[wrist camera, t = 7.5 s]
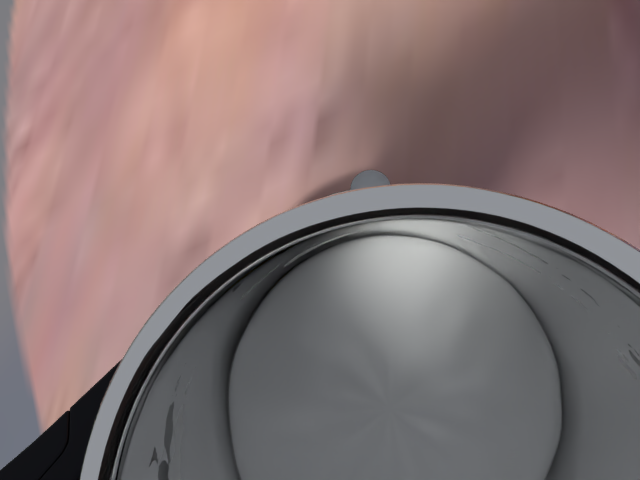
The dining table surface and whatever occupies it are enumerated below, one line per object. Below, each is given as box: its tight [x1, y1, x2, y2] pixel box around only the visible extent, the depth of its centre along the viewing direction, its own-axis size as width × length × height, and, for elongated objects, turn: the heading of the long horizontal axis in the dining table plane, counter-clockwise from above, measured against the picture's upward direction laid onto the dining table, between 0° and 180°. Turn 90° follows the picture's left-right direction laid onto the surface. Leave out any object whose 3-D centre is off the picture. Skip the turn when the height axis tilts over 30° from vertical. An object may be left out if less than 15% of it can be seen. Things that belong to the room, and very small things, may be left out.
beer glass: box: [79, 183, 640, 480], centre depth 11 cm, size 7×7×15 cm
